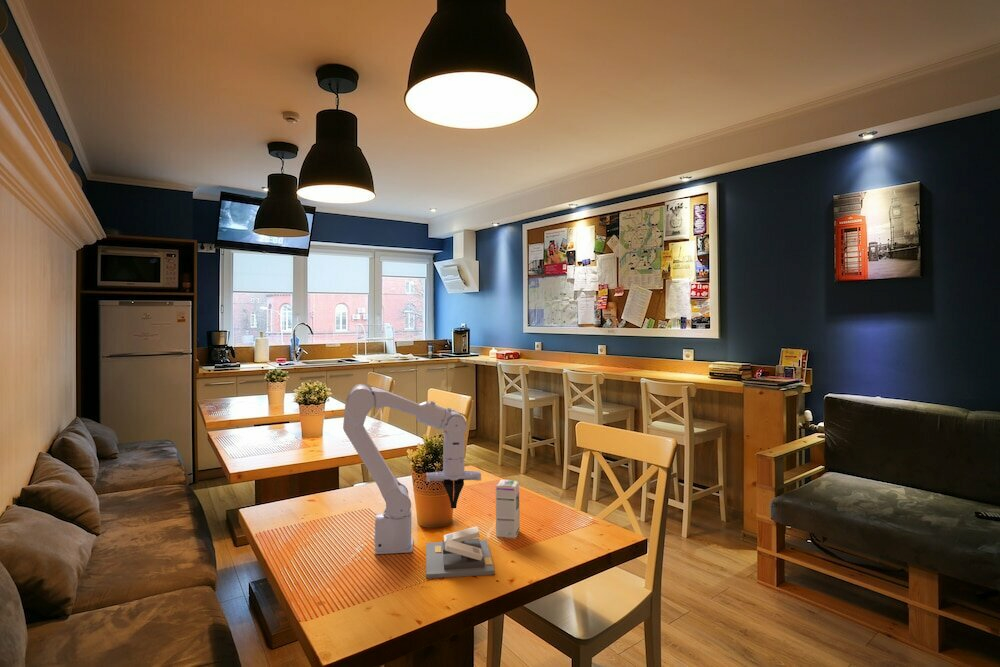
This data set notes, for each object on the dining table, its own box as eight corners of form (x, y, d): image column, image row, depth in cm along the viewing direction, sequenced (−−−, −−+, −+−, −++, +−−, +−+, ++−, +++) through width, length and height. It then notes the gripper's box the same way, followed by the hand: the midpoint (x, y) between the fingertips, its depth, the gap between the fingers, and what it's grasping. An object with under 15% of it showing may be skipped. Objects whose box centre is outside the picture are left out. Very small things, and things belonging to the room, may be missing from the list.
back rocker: (445, 546, 133) (444, 541, 132) (444, 539, 136) (443, 534, 136) (479, 536, 134) (478, 531, 134) (478, 530, 138) (477, 525, 138)
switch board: (426, 578, 122) (426, 564, 121) (426, 546, 138) (426, 534, 138) (494, 574, 124) (494, 561, 124) (486, 543, 141) (486, 531, 140)
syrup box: (516, 539, 144) (516, 486, 143) (495, 537, 145) (495, 484, 144) (519, 530, 149) (520, 480, 149) (499, 528, 150) (499, 478, 150)
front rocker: (445, 550, 125) (447, 545, 125) (445, 543, 128) (446, 538, 128) (481, 560, 126) (482, 555, 126) (479, 553, 130) (481, 548, 130)
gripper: (426, 461, 136) (425, 513, 137) (482, 460, 138) (481, 511, 138) (426, 454, 143) (426, 503, 144) (479, 453, 145) (479, 502, 145)
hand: (453, 507), depth 141 cm, fingers closed
